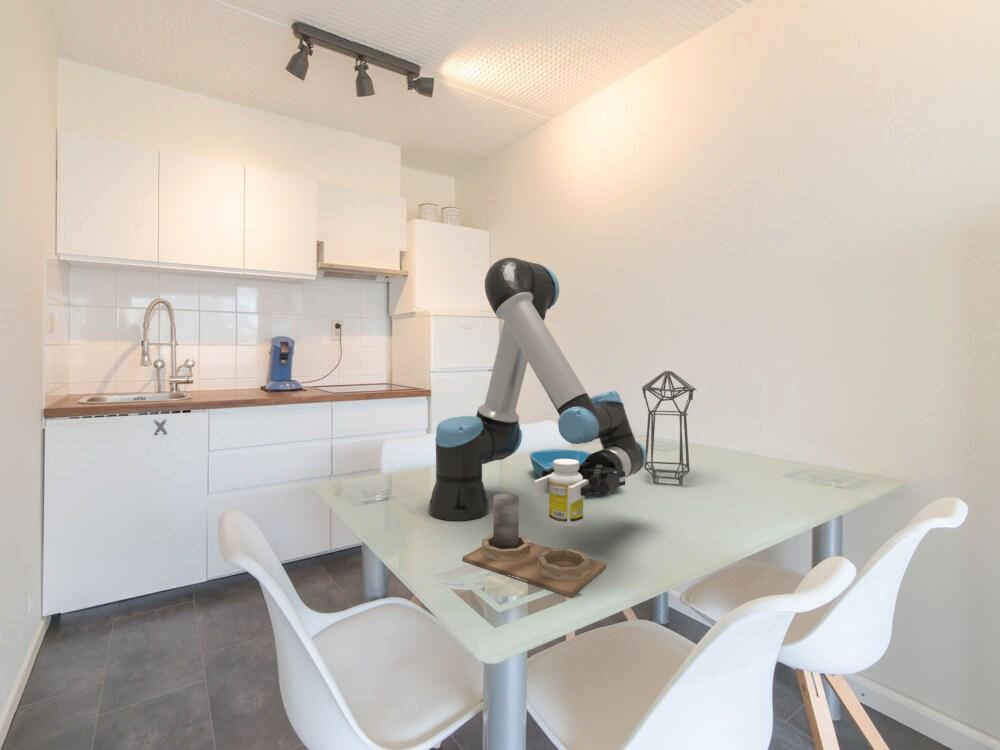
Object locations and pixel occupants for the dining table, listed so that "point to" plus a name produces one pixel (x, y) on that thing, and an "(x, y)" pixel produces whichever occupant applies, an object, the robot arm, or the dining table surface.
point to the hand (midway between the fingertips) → (552, 491)
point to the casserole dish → (555, 458)
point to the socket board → (531, 554)
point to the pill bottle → (564, 493)
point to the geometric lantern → (687, 388)
